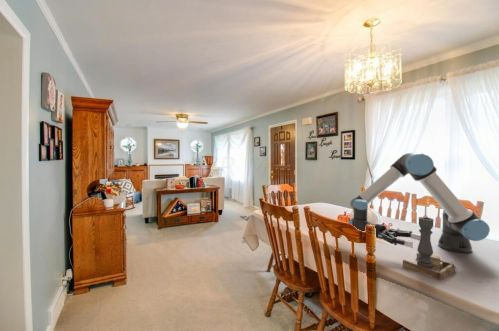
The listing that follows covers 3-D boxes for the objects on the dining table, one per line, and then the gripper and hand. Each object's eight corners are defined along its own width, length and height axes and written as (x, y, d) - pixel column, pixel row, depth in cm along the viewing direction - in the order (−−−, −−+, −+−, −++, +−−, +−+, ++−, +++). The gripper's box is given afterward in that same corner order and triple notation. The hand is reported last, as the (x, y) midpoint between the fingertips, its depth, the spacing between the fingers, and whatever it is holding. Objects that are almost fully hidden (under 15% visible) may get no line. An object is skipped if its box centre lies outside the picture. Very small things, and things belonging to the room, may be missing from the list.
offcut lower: (423, 262, 123) (423, 256, 123) (442, 268, 116) (442, 262, 116) (419, 265, 120) (419, 259, 120) (438, 271, 114) (438, 265, 113)
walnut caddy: (417, 258, 127) (417, 252, 127) (454, 270, 114) (454, 264, 114) (402, 266, 118) (402, 260, 118) (440, 280, 105) (440, 273, 105)
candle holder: (425, 266, 118) (427, 216, 117) (436, 272, 112) (437, 220, 110) (413, 266, 118) (414, 216, 116) (423, 273, 111) (424, 220, 110)
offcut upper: (421, 257, 122) (421, 252, 121) (438, 260, 118) (439, 255, 118) (422, 261, 118) (422, 255, 118) (440, 264, 114) (440, 258, 114)
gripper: (387, 232, 140) (430, 244, 123) (363, 241, 127) (406, 255, 109) (388, 220, 140) (430, 229, 122) (363, 227, 127) (406, 239, 109)
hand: (419, 242), depth 116 cm, fingers open, 13 cm apart
